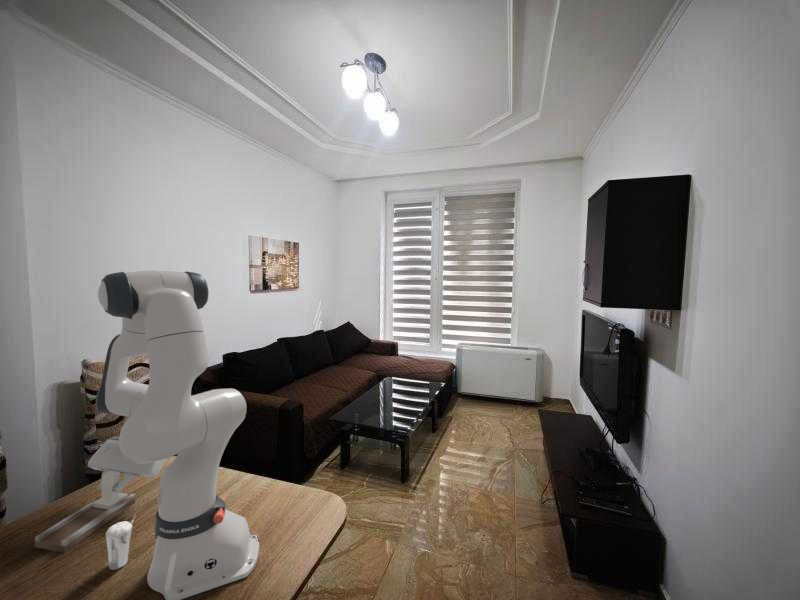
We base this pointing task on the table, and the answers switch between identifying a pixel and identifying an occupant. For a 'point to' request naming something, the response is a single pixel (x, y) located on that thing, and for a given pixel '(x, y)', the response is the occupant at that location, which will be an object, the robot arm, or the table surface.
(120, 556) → the milkshake
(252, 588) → the table surface
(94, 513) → the fader track
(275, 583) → the table surface
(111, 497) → the fader tab
